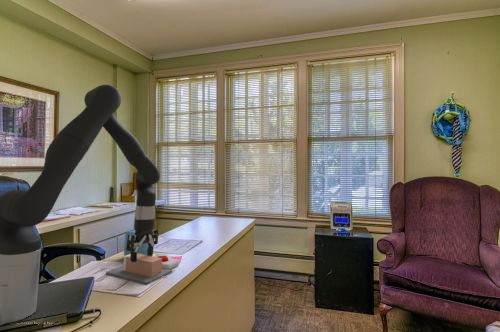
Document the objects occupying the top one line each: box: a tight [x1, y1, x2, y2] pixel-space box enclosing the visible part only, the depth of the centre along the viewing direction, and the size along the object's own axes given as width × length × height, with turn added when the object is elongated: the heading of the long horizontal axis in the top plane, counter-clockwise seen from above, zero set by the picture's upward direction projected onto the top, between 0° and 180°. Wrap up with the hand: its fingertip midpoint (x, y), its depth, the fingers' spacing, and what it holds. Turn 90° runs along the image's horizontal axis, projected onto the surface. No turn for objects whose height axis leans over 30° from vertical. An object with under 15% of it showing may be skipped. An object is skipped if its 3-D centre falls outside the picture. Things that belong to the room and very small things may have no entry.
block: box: [122, 253, 162, 277], centre depth 107 cm, size 6×6×14 cm
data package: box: [123, 229, 148, 257], centre depth 125 cm, size 12×4×12 cm, turn 68°
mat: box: [105, 265, 173, 285], centre depth 108 cm, size 14×20×1 cm
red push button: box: [156, 255, 180, 270], centre depth 118 cm, size 12×4×10 cm
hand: (141, 258), depth 107 cm, fingers open, 8 cm apart
